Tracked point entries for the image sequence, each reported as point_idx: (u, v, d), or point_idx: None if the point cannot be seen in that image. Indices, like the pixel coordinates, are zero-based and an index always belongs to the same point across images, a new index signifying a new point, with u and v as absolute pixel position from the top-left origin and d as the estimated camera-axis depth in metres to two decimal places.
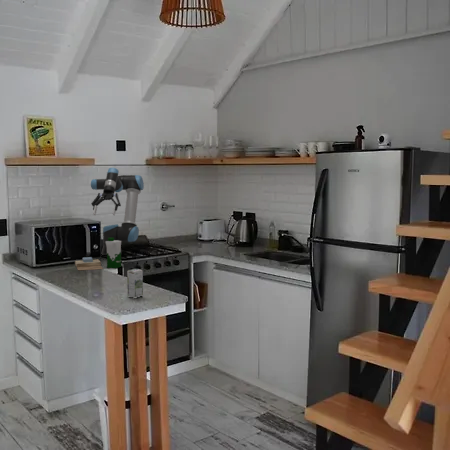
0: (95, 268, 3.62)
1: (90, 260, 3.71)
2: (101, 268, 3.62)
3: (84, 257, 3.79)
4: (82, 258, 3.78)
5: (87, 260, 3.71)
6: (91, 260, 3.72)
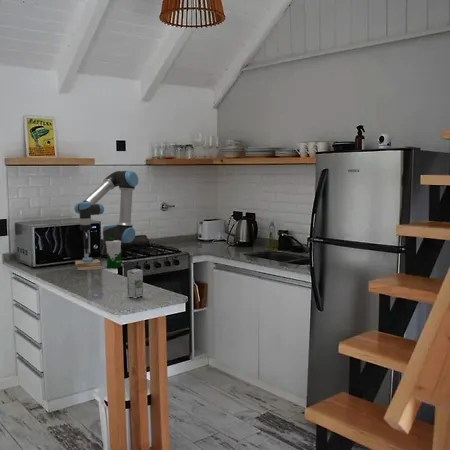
0: (95, 268, 3.62)
1: (90, 261, 3.70)
2: (101, 268, 3.62)
3: None
4: None
5: (87, 260, 3.70)
6: (91, 260, 3.71)
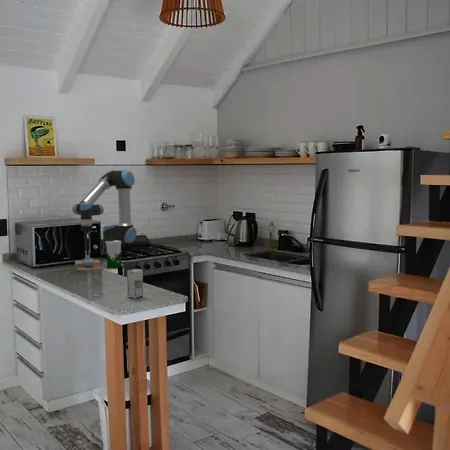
0: (95, 268, 3.62)
1: (91, 263, 3.65)
2: (101, 268, 3.62)
3: None
4: None
5: (88, 263, 3.64)
6: (92, 263, 3.65)
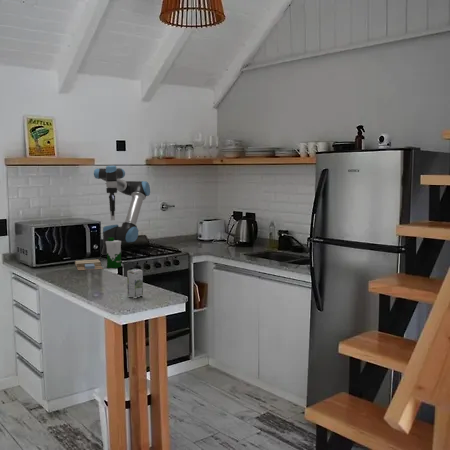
0: (95, 268, 3.62)
1: (92, 267, 3.60)
2: (101, 268, 3.62)
3: (86, 264, 3.68)
4: None
5: (89, 267, 3.60)
6: (93, 267, 3.61)
